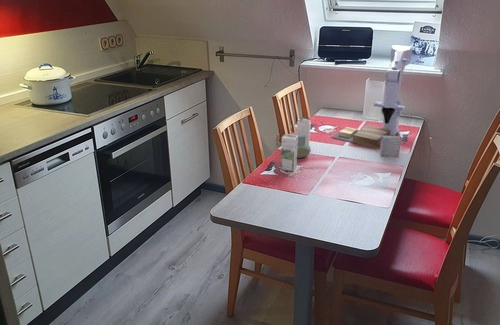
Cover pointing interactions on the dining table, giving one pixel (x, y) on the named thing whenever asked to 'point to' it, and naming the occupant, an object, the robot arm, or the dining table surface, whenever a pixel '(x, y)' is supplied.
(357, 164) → the dining table surface
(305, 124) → the can
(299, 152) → the air freshener
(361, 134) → the brown shallow box
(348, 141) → the mat
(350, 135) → the tile
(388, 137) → the medicine box
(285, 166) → the syrup box
